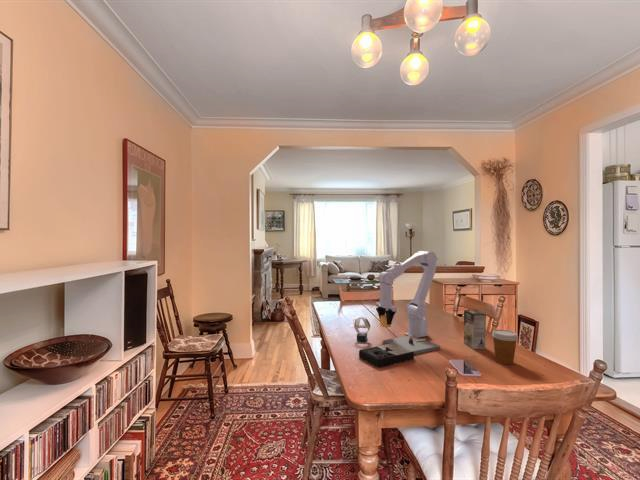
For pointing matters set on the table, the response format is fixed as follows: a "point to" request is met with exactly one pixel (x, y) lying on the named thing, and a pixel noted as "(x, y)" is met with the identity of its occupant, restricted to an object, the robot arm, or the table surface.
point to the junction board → (416, 347)
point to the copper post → (411, 339)
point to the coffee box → (474, 329)
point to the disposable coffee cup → (504, 345)
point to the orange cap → (384, 321)
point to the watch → (362, 335)
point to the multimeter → (386, 355)
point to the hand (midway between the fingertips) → (385, 323)
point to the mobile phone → (465, 368)
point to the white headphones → (358, 324)
